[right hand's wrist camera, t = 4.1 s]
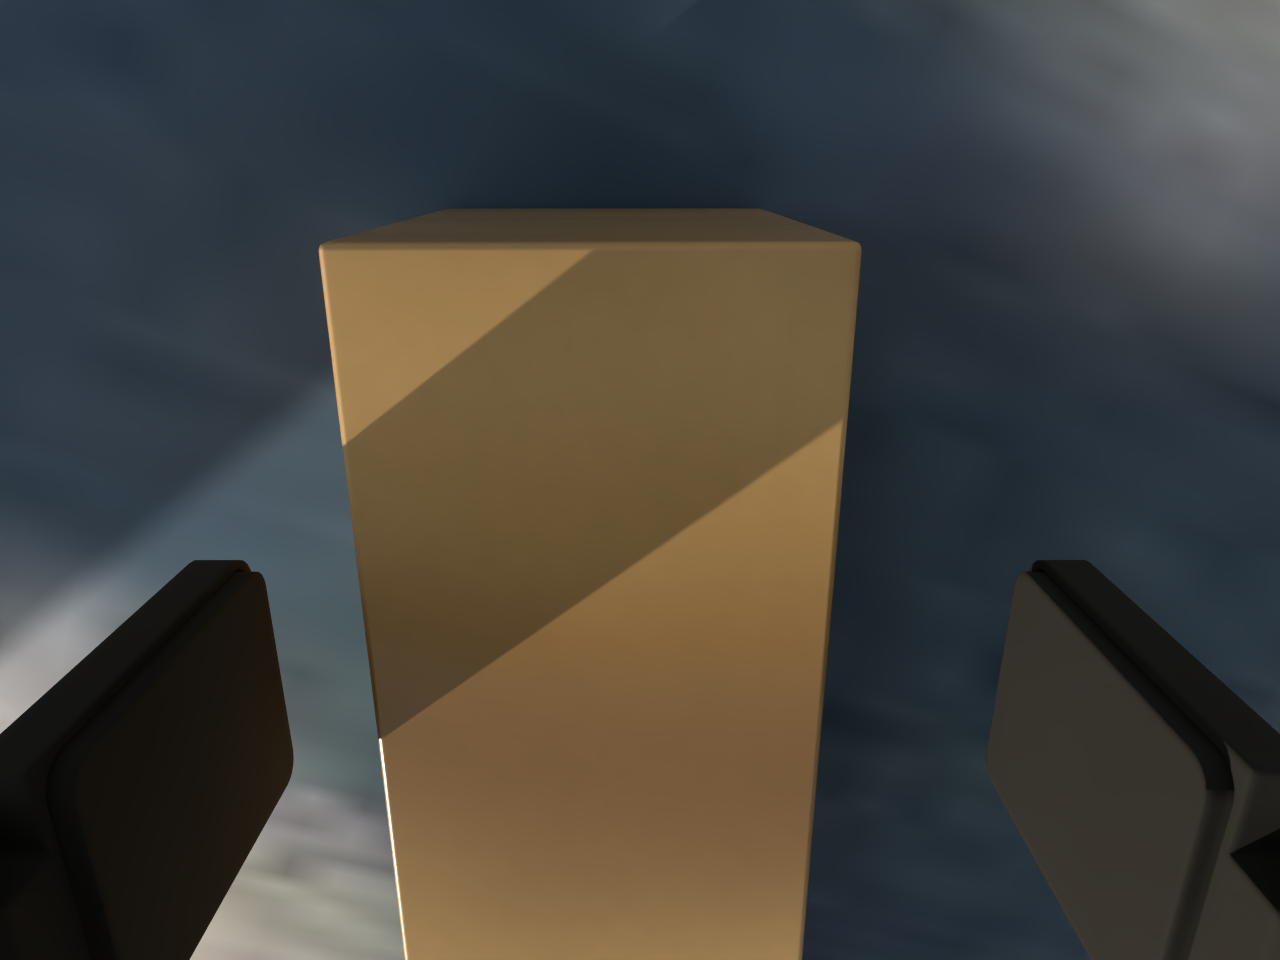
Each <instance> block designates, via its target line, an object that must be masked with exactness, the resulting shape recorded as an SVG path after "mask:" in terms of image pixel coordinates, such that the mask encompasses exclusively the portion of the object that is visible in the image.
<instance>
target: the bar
mask: <svg viewBox="0 0 1280 960" xmlns="http://www.w3.org/2000/svg"><path fill="white" fill-rule="evenodd" d="M861 255H862V249H861V246H860V243H858V242H856V241H853V240H850V239H847V238H845V237H842V236H839V235H836V234H833V233H830V232H827V231H824V230H821V229H819V228H816V227H813V226H810V225H807V224H804V223H801V222H798V221H795V220H793V219H790V218H787V217H784V216H781V215H778V214H775V213H772V212H769V211H767V210H764V209H761V208H639V209H444V210H440V211H436V212H433V213H429V214H425V215H422V216H418V217H414V218H411V219H407V220H403V221H400V222H396V223H392V224H389V225H385V226H382V227H378V228H374V229H371V230H367V231H363V232H360V233H356V234H352V235H349V236H345V237H341V238H338V239H334V240H331V241H327V242H325V243H322V244H320V248H319V258H320V267H321V275H322V283H323V291H324V299H325V308H326V316H327V324H328V332H329V340H330V349H331V357H332V365H333V373H334V381H335V390H336V398H337V406H338V414H339V422H340V431H341V439H342V447H343V455H344V463H345V472H346V480H347V488H348V496H349V504H350V513H351V521H352V529H353V537H354V545H355V553H356V562H357V570H358V578H359V586H360V594H361V603H362V611H363V619H364V627H365V635H366V644H367V652H368V660H369V668H370V676H371V685H372V693H373V701H374V709H375V717H376V726H377V734H378V742H379V750H380V758H381V767H382V775H383V783H384V791H385V799H386V808H387V816H388V824H389V832H390V840H391V848H392V857H393V865H394V873H395V881H396V889H397V898H398V906H399V914H400V922H401V930H402V939H403V947H404V955H405V960H802V956H803V944H804V932H805V920H806V908H807V896H808V884H809V873H810V861H811V849H812V837H813V825H814V813H815V801H816V789H817V778H818V766H819V754H820V742H821V730H822V718H823V706H824V694H825V682H826V671H827V659H828V647H829V635H830V623H831V611H832V599H833V587H834V575H835V564H836V552H837V540H838V528H839V516H840V504H841V492H842V480H843V469H844V457H845V445H846V433H847V421H848V409H849V397H850V385H851V373H852V362H853V350H854V338H855V326H856V314H857V302H858V290H859V278H860V266H861Z"/></svg>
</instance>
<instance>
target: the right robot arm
mask: <svg viewBox="0 0 1280 960" xmlns="http://www.w3.org/2000/svg"><path fill="white" fill-rule="evenodd" d="M292 769H293V747H292V741H291V735H290V729H289V723H288V717H287V711H286V705H285V699H284V693H283V687H282V681H281V674H280V668H279V662H278V656H277V650H276V644H275V638H274V632H273V626H272V620H271V614H270V608H269V602H268V596H267V590H266V584H265V580H264V578H263V576H262V574H261V573H259V572H251V570H250V568H249V566H248V564H247V563H245V562H244V561H242V560H194V561H193V562H191V563H189V564H188V565H187V566H186V567H185V568H184V569H183V570H182V571H180V572H179V573H178V574H177V575H176V576H175V577H174V578H173V579H172V580H170V581H169V582H168V583H167V584H166V585H165V586H164V587H163V588H162V589H161V590H159V591H158V592H157V593H156V594H155V595H154V596H153V597H152V598H151V599H149V600H148V601H147V602H146V603H145V604H144V605H143V606H142V607H141V608H139V609H138V610H137V611H136V612H135V613H134V614H133V615H132V616H131V617H129V618H128V619H127V620H126V621H125V622H124V623H123V624H122V625H121V626H120V627H118V628H117V629H116V630H115V631H114V632H113V633H112V634H111V635H110V636H108V637H107V638H106V639H105V640H104V641H103V642H102V643H101V644H100V645H98V646H97V647H96V648H95V649H94V650H93V651H92V652H91V653H90V654H89V655H87V656H86V657H85V658H84V659H83V660H82V661H81V662H80V663H79V664H77V665H76V666H75V667H74V668H73V669H72V670H71V671H70V672H69V673H67V674H66V675H65V676H64V677H63V678H62V679H61V680H60V681H59V682H58V683H56V684H55V685H54V686H53V687H52V688H51V689H50V690H49V691H48V692H46V693H45V694H44V695H43V696H42V697H41V698H40V699H39V700H38V701H36V702H35V703H34V704H33V705H32V706H31V707H30V708H29V709H28V710H27V711H25V712H24V713H23V714H22V715H21V716H20V717H19V718H18V719H17V720H15V721H14V722H13V723H12V724H11V725H10V726H9V727H8V728H7V729H5V730H4V731H3V732H2V733H1V734H0V960H189V959H190V958H191V956H192V954H193V952H194V951H195V949H196V947H197V945H198V943H199V942H200V940H201V938H202V936H203V935H204V933H205V931H206V929H207V927H208V926H209V924H210V922H211V920H212V918H213V917H214V915H215V913H216V911H217V910H218V908H219V906H220V904H221V902H222V901H223V899H224V897H225V895H226V894H227V892H228V890H229V888H230V886H231V885H232V883H233V881H234V879H235V877H236V876H237V874H238V872H239V870H240V869H241V867H242V865H243V863H244V861H245V860H246V858H247V856H248V854H249V853H250V851H251V849H252V847H253V845H254V844H255V842H256V840H257V838H258V836H259V835H260V833H261V831H262V829H263V828H264V826H265V824H266V822H267V820H268V819H269V817H270V815H271V813H272V812H273V810H274V808H275V806H276V804H277V803H278V801H279V799H280V797H281V795H282V794H283V792H284V790H285V788H286V787H287V785H288V782H289V780H290V777H291V774H292ZM987 769H988V774H989V777H990V780H991V782H992V785H993V787H994V788H995V790H996V792H997V794H998V795H999V797H1000V799H1001V801H1002V803H1003V804H1004V806H1005V808H1006V810H1007V812H1008V813H1009V815H1010V817H1011V819H1012V820H1013V822H1014V824H1015V826H1016V828H1017V829H1018V831H1019V833H1020V835H1021V836H1022V838H1023V840H1024V842H1025V844H1026V845H1027V847H1028V849H1029V851H1030V853H1031V854H1032V856H1033V858H1034V860H1035V861H1036V863H1037V865H1038V867H1039V869H1040V870H1041V872H1042V874H1043V876H1044V877H1045V879H1046V881H1047V883H1048V885H1049V886H1050V888H1051V890H1052V892H1053V894H1054V895H1055V897H1056V899H1057V901H1058V902H1059V904H1060V906H1061V908H1062V910H1063V911H1064V913H1065V915H1066V917H1067V918H1068V920H1069V922H1070V924H1071V926H1072V927H1073V929H1074V931H1075V933H1076V935H1077V936H1078V938H1079V940H1080V942H1081V943H1082V945H1083V947H1084V949H1085V951H1086V952H1087V954H1088V956H1089V958H1090V959H1091V960H1280V734H1279V733H1278V732H1277V731H1276V730H1275V729H1273V728H1272V727H1271V726H1270V725H1269V724H1268V723H1267V722H1266V721H1265V720H1263V719H1262V718H1261V717H1260V716H1259V715H1258V714H1257V713H1256V712H1255V711H1253V710H1252V709H1251V708H1250V707H1249V706H1248V705H1247V704H1246V703H1245V702H1244V701H1242V700H1241V699H1240V698H1239V697H1238V696H1237V695H1236V694H1235V693H1234V692H1232V691H1231V690H1230V689H1229V688H1228V687H1227V686H1226V685H1225V684H1224V683H1222V682H1221V681H1220V680H1219V679H1218V678H1217V677H1216V676H1215V675H1214V674H1213V673H1211V672H1210V671H1209V670H1208V669H1207V668H1206V667H1205V666H1204V665H1203V664H1201V663H1200V662H1199V661H1198V660H1197V659H1196V658H1195V657H1194V656H1193V655H1191V654H1190V653H1189V652H1188V651H1187V650H1186V649H1185V648H1184V647H1183V646H1182V645H1180V644H1179V643H1178V642H1177V641H1176V640H1175V639H1174V638H1173V637H1172V636H1170V635H1169V634H1168V633H1167V632H1166V631H1165V630H1164V629H1163V628H1162V627H1160V626H1159V625H1158V624H1157V623H1156V622H1155V621H1154V620H1153V619H1152V618H1151V617H1149V616H1148V615H1147V614H1146V613H1145V612H1144V611H1143V610H1142V609H1141V608H1139V607H1138V606H1137V605H1136V604H1135V603H1134V602H1133V601H1132V600H1131V599H1129V598H1128V597H1127V596H1126V595H1125V594H1124V593H1123V592H1122V591H1121V590H1120V589H1118V588H1117V587H1116V586H1115V585H1114V584H1113V583H1112V582H1111V581H1110V580H1108V579H1107V578H1106V577H1105V576H1104V575H1103V574H1102V573H1101V572H1100V571H1098V570H1097V569H1096V568H1095V567H1094V566H1093V565H1092V564H1091V563H1089V562H1087V561H1086V560H1038V561H1036V562H1035V563H1033V564H1032V566H1031V568H1030V570H1029V572H1021V573H1019V574H1018V576H1017V578H1016V580H1015V584H1014V590H1013V596H1012V602H1011V608H1010V614H1009V620H1008V626H1007V632H1006V638H1005V644H1004V650H1003V656H1002V662H1001V668H1000V675H999V681H998V687H997V693H996V699H995V705H994V711H993V717H992V723H991V729H990V735H989V741H988V747H987Z"/></svg>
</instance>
